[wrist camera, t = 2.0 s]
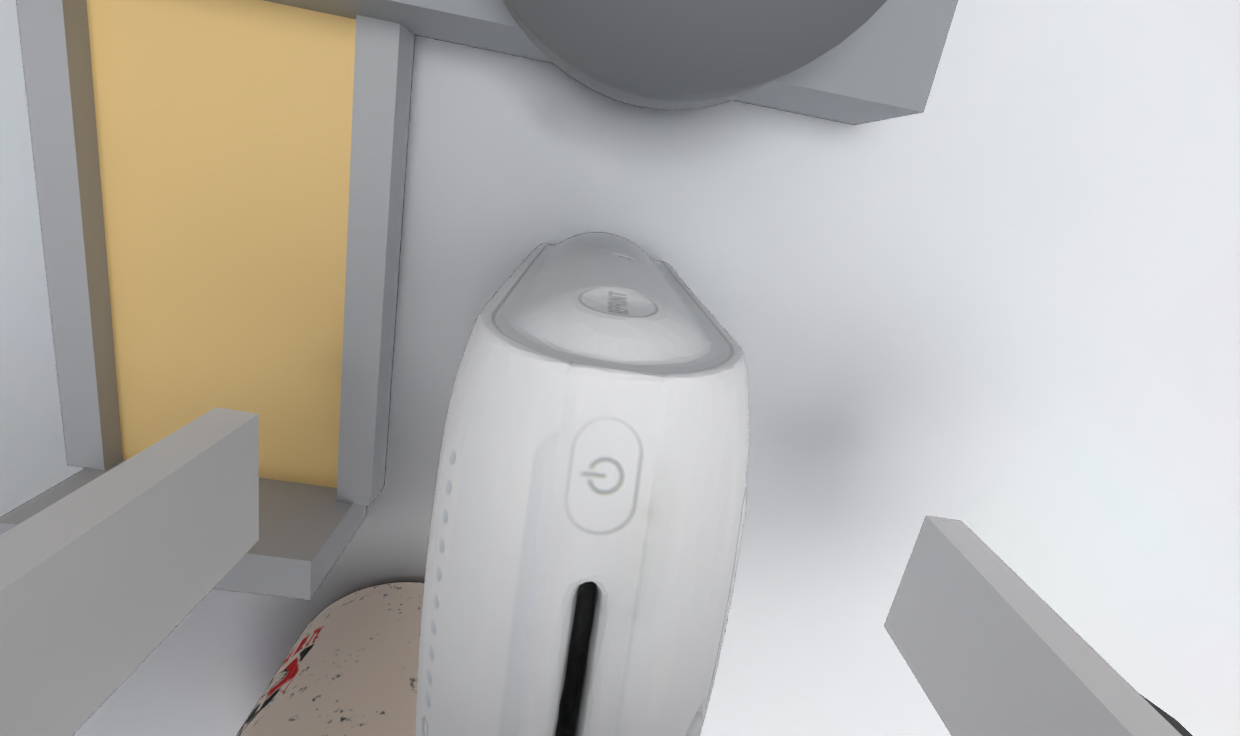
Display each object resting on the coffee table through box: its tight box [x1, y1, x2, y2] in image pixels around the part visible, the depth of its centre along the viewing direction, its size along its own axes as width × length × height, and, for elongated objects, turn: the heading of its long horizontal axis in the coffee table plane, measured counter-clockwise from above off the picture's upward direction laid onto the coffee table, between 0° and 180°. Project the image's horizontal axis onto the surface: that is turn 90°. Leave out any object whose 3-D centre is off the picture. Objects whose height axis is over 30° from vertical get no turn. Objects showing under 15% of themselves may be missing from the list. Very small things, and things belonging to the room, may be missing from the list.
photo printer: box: [416, 232, 749, 736], centre depth 13 cm, size 10×4×12 cm, turn 171°
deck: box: [0, 0, 958, 600], centre depth 13 cm, size 24×21×7 cm
